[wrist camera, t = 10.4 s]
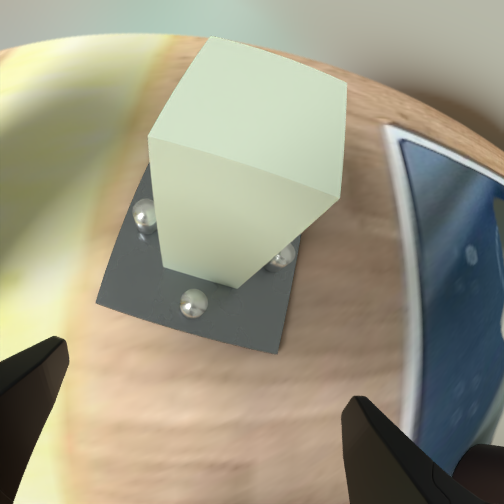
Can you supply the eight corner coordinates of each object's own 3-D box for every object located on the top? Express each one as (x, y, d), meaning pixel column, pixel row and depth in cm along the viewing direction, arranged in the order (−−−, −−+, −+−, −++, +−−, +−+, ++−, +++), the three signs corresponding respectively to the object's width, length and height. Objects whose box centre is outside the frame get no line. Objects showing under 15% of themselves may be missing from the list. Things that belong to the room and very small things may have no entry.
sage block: (237, 288, 18) (339, 198, 7) (163, 267, 17) (147, 136, 6) (254, 220, 19) (346, 82, 8) (186, 199, 19) (210, 35, 7)
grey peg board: (274, 354, 18) (289, 355, 15) (98, 304, 16) (85, 298, 14) (304, 197, 21) (320, 180, 19) (156, 151, 20) (156, 128, 17)
